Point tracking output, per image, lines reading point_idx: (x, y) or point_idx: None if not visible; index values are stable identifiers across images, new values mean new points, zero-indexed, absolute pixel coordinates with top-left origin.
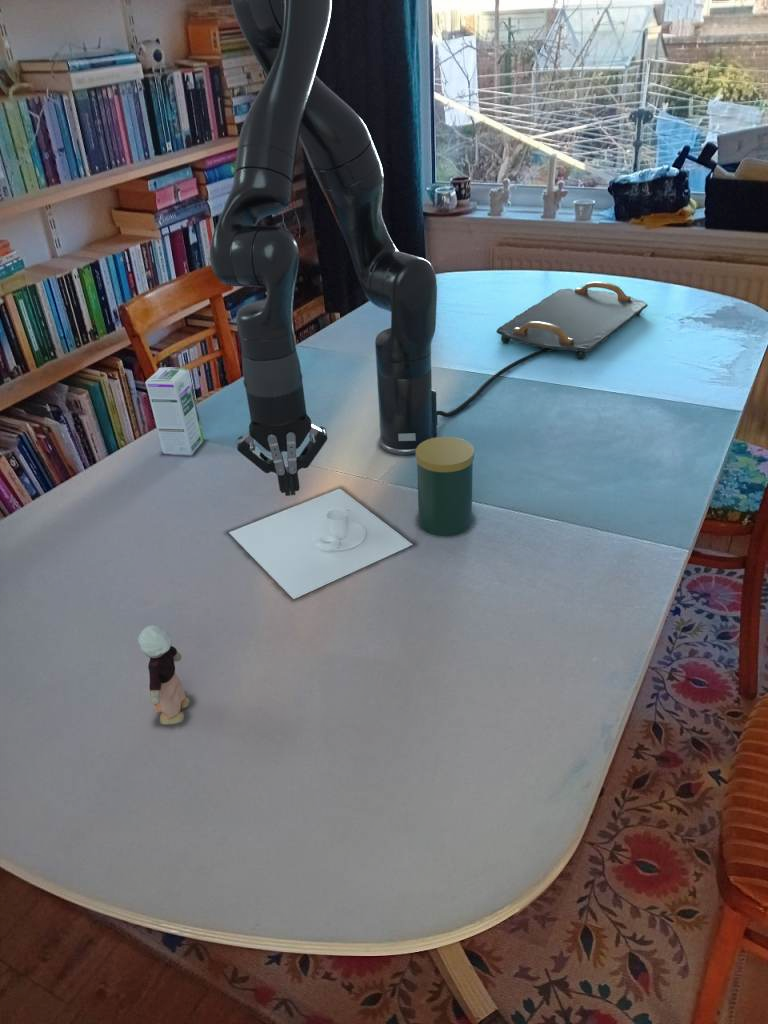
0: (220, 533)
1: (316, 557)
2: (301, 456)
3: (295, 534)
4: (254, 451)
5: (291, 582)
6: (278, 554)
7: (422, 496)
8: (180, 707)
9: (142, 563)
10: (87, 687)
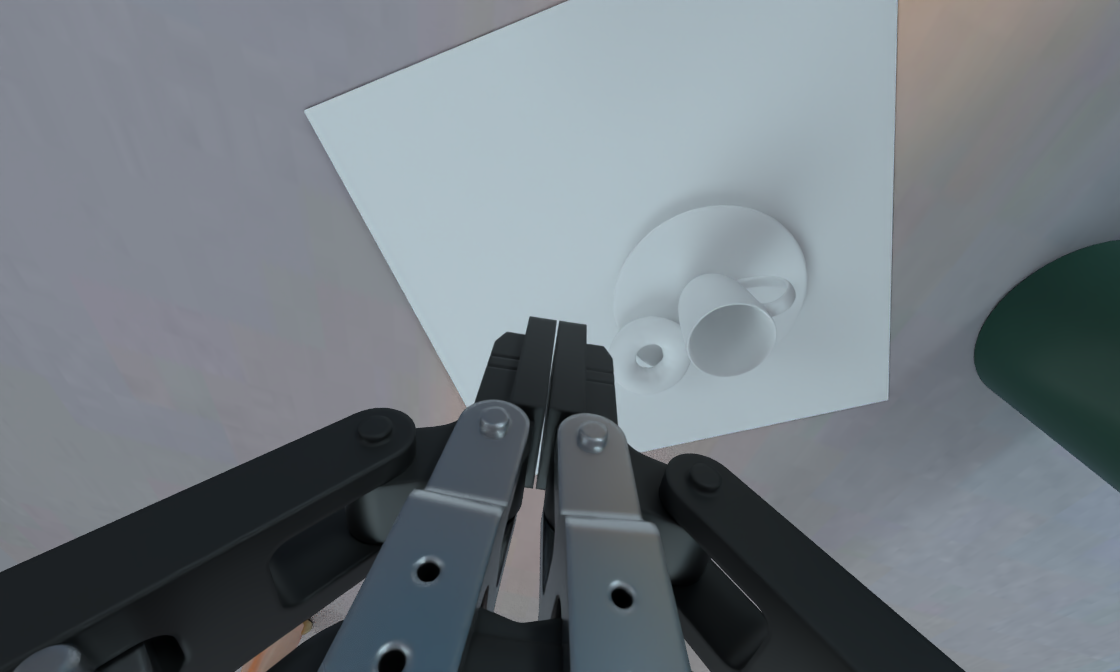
0: (269, 101)
1: None
2: (672, 544)
3: (564, 223)
4: (191, 668)
5: None
6: (490, 312)
7: (1100, 435)
8: (300, 637)
9: (20, 200)
10: None
